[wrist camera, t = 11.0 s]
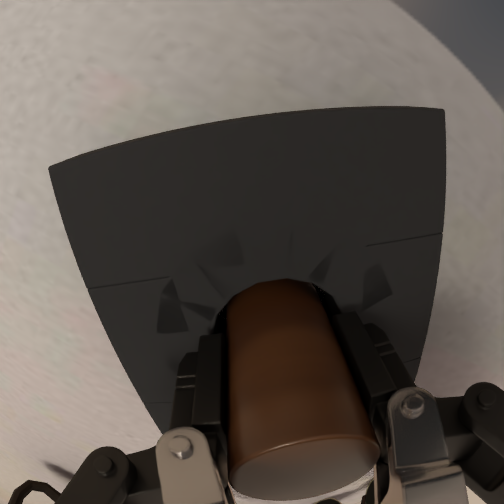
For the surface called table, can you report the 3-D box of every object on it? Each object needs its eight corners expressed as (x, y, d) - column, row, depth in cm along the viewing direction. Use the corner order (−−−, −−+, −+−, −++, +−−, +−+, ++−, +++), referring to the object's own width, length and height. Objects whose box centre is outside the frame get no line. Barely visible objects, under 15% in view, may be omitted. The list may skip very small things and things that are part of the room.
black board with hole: (81, 154, 10) (46, 167, 8) (406, 106, 10) (445, 108, 8) (177, 414, 16) (172, 450, 14) (389, 379, 16) (405, 412, 14)
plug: (217, 276, 12) (210, 452, 5) (317, 260, 12) (394, 418, 5) (234, 350, 13) (242, 507, 7) (320, 336, 13) (370, 484, 7)
